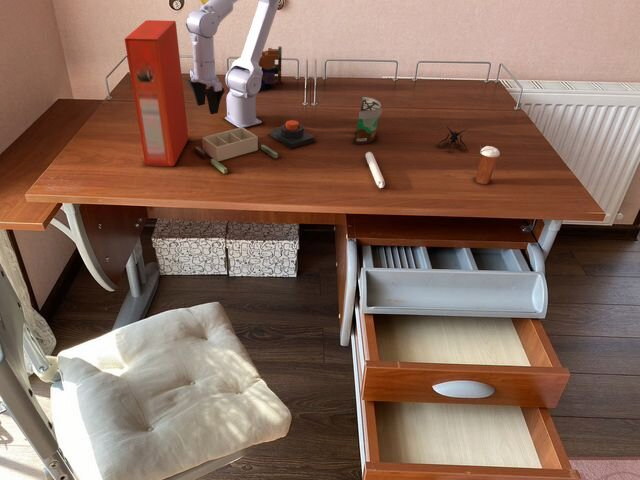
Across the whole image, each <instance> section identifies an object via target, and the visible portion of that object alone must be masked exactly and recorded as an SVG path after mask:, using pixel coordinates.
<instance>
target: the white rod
mask: <svg viewBox="0 0 640 480" xmlns="http://www.w3.org/2000/svg"><path fill="white" fill-rule="evenodd" d="M365 160H366V162H367V165H368V167H369V169H370V172H371V175H372V176H373V179H374V182H375V185H376V186H377V187H378V188H379V189H383V188H384V187H385V185H386V182H385V179H384V177H383V174H382V172H381V170H380V167H379V165H378V163H377V160H376V157H375V156H374V154H373V152H372V151H367V152H366V153H365Z"/></svg>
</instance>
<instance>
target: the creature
mask: <svg viewBox="0 0 640 480" xmlns="http://www.w3.org/2000/svg"><path fill="white" fill-rule="evenodd" d="M445 126H446V128H447V129H448V131H449V133H447V136H446V138H445V139H441V141H439V142H438V144H437V146H438V147H439V148H440V149H441V148H444V147H445V148H446V147H449V150H451V149H452V150H454V149H455V146H456V144H457V146H458V147H460V145H459V144H460V143H461V144H462V145H464V147H465V149H464V150H463V152H465V151H466V150H467V148H468V147H467V145H466V143H464V142H463V141H462V137H463V135H461V134H462V133H463V132H465V131H466V130H468V128H465V129H463V130H461V131H459V132H457V131H454V132H453V130H451V129H450V128H449V127H448V126H447V125H445ZM450 134H451V136H450ZM459 135H460V136H459ZM458 136H459V137H458ZM445 141H447V143H446V145H445V146H440V144H441V143H442V142H445ZM449 142H450V144H449ZM448 144H449V146H448ZM452 144H453V147H452ZM459 150H460V151H462V149H460V148H459Z"/></svg>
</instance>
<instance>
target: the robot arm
mask: <svg viewBox="0 0 640 480" xmlns="http://www.w3.org/2000/svg"><path fill="white" fill-rule="evenodd" d="M238 1H239V0H208V1H207V2H205V4H202V5H201V6H200V8H199V9H195V10H193V11H191V12H190V13H189V14H188V15H187V19H186V22H185V29H186V31H187V32H188V33H189V39H190V40H191V46H192V59H193V69H189V77H190V79H188V80H187V84H188V85H189V87H190V88H191V91H192V93H193V96H194V99H195V102H196V105H197V106H198V107H200V106H204V105H205V104H206V100H207V104H208V111H209V114H210V115H215V114H218V113H219V110H220V105H221V104H220V103H221V100H222V97H223V95H224V93H225V88H224V87H223V84H222V82H220V79H219V78H218V76H217V75H216V59H215V57H216V56H215V43H214V41H215V40H214V39H215V38H214V36H215V35H216V34H217V32H218V29H219V26H220V25H221V23H222V22H223V20H225V19H226V18H227V17H228V16H229V15H231V13H232V12H233V10H234V4H236V2H238ZM279 4H280V0H258V4H257V7H256V9H255V13H254V16H253V19H252V21H251V26H250V29H249V32H248V34H247V37H246V40H245V43H244V45H243V46H244V47H243V50H242V52H241V55H240V57H238V58H237V59H235V60H233V62H232V64H231V66H230V68H229V69H228V71H227V72H226V74H225V79H224V80H225V85H226V87H227V88H228V89H229V92H228V93H227V94H226V98H225V99H226V116H225V117H224V119H225V120H226V121H228V122H229V123H230V124H232V125H234V126H236V127H237V128H241V127H243V128H245V129H246V128H248V127H252V126H256V125H259V124H262V123H263V121H262V120H260V119H259V118H258V117H257V95H258V93H259V92H260V91H261V90H260V88H261V79H262V75H263V72H262V70H261V67H260V66H259V61H260V58H261V56H262V52H263V51H264V49H265V45H266V43H267V40H268V38H269V35H270V31H271V28H272V25H273V23H274V19H275V17H276V14H277V12H278V7H279ZM207 86H208V87H209V88H207Z"/></svg>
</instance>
